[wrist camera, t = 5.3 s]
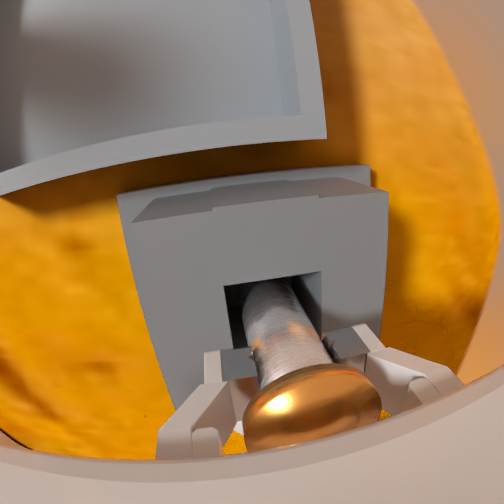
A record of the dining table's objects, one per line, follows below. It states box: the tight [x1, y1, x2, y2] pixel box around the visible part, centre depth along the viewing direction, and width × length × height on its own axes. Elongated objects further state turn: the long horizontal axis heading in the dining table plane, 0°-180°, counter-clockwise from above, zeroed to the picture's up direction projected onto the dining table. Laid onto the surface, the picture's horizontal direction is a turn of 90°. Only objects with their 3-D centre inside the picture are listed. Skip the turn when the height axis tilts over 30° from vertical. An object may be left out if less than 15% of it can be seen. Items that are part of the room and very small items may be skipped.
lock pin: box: [235, 277, 382, 452], centre depth 12 cm, size 4×4×10 cm
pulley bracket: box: [116, 164, 388, 435], centre depth 16 cm, size 17×13×6 cm
